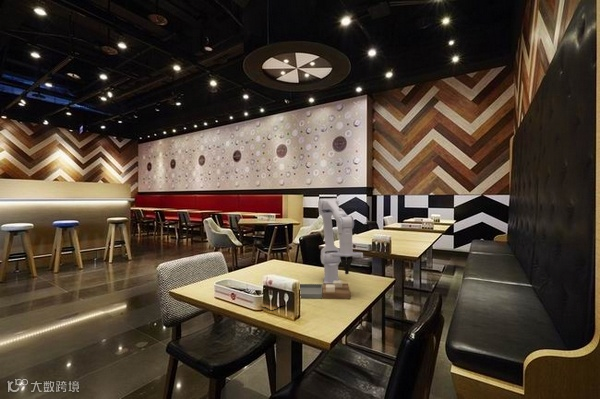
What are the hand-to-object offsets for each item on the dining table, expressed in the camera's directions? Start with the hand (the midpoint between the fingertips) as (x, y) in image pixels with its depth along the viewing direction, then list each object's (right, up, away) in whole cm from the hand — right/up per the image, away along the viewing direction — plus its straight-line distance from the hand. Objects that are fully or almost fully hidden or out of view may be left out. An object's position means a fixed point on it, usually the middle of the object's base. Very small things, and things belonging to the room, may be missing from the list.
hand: (346, 273), depth 119 cm
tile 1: (-7, -8, +1) cm, 11 cm away
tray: (-16, -11, +5) cm, 20 cm away
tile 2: (-3, -8, +6) cm, 10 cm away
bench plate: (-4, -10, +4) cm, 11 cm away
